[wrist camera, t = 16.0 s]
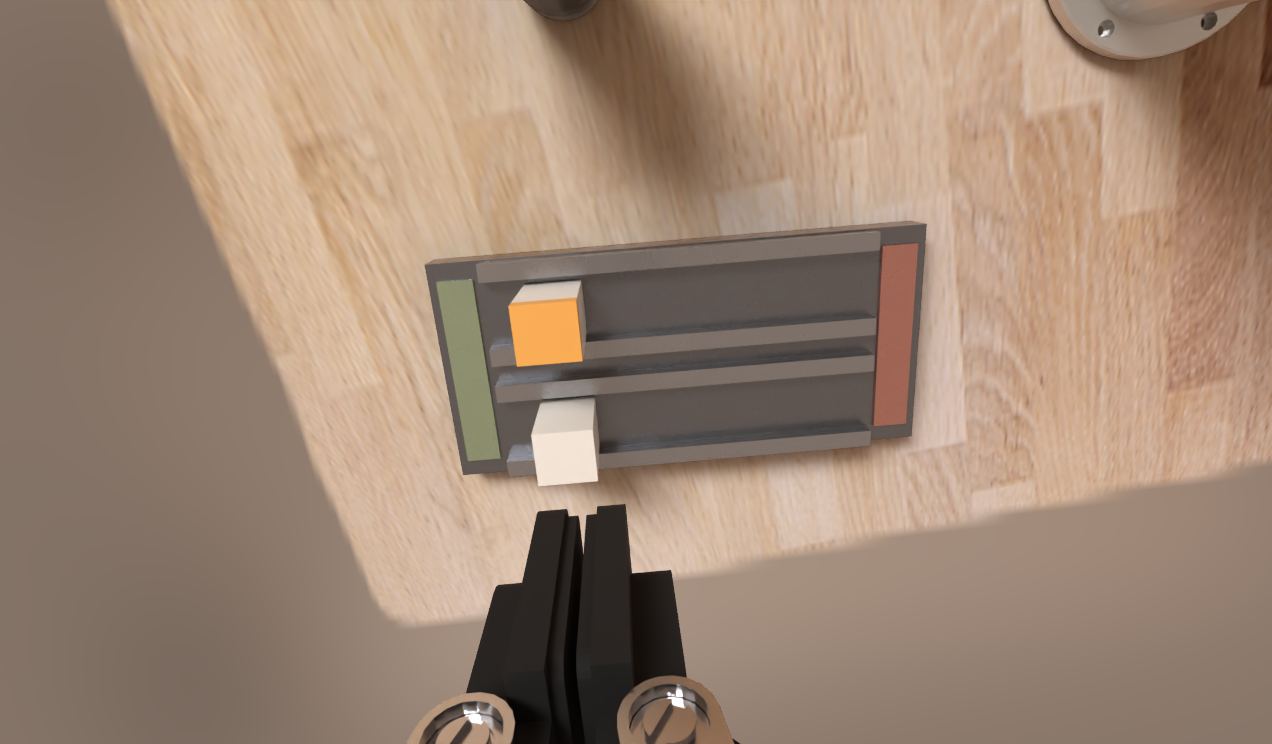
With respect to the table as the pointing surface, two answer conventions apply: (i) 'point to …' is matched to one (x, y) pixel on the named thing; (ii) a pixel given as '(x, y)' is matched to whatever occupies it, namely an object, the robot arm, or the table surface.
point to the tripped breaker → (548, 323)
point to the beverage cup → (561, 8)
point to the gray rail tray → (694, 345)
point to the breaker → (566, 441)
